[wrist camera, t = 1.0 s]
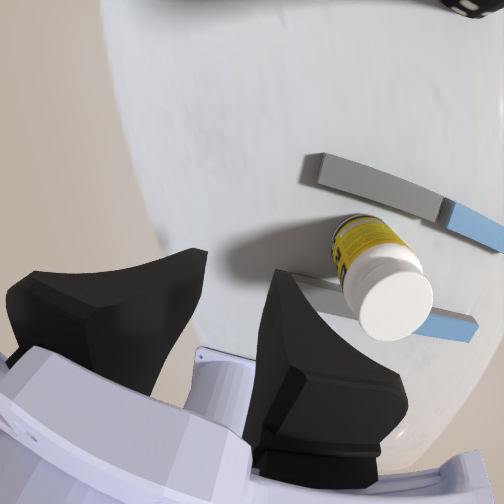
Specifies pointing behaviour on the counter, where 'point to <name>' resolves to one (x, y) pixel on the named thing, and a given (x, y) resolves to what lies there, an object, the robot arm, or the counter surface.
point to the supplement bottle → (380, 278)
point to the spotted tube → (474, 7)
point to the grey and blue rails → (412, 201)
